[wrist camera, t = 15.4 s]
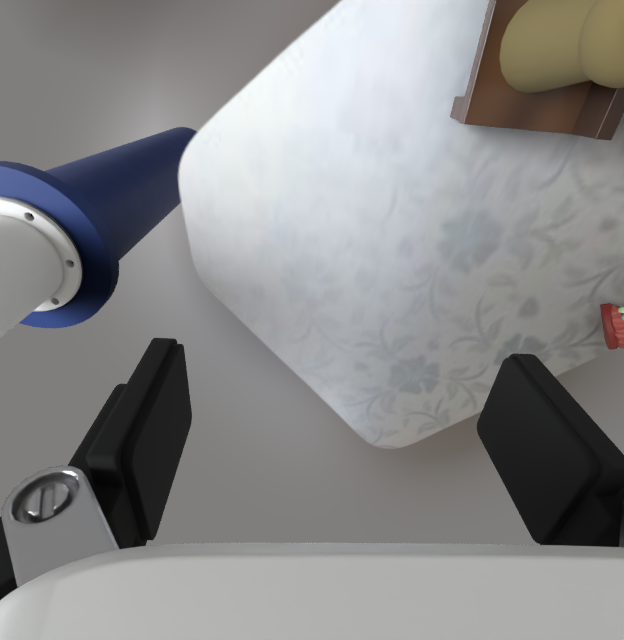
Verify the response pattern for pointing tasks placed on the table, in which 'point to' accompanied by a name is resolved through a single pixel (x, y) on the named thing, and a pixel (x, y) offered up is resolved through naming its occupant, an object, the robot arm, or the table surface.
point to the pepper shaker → (564, 45)
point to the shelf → (535, 108)
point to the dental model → (613, 325)
